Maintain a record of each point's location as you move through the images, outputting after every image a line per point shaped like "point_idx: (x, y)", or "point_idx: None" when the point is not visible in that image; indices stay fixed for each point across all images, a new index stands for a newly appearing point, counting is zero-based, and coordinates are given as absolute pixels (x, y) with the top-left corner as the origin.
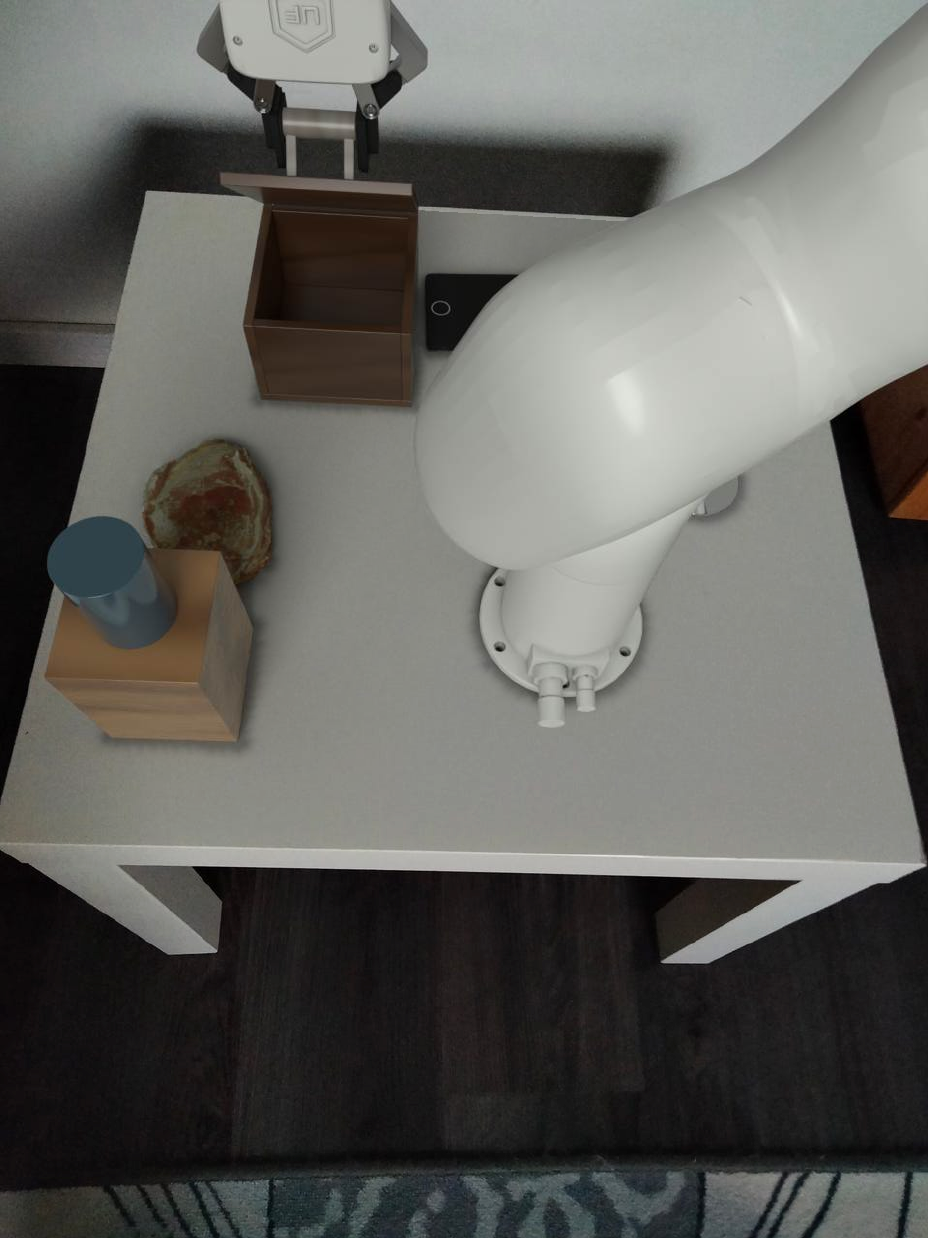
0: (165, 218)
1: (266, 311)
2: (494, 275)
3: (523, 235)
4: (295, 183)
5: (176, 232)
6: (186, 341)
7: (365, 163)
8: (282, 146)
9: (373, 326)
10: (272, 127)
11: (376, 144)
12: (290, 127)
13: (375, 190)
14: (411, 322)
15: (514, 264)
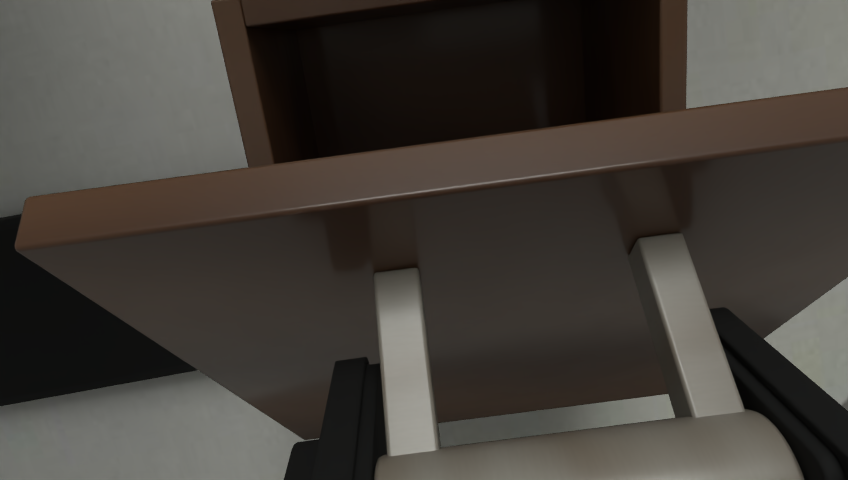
0: (834, 383)
1: (622, 102)
2: (189, 367)
3: (174, 474)
4: (646, 131)
5: (811, 356)
6: (765, 97)
7: (340, 379)
8: (741, 364)
9: (321, 8)
10: (845, 417)
11: (292, 469)
12: (740, 441)
13: (215, 181)
14: (221, 46)
15: (171, 408)
